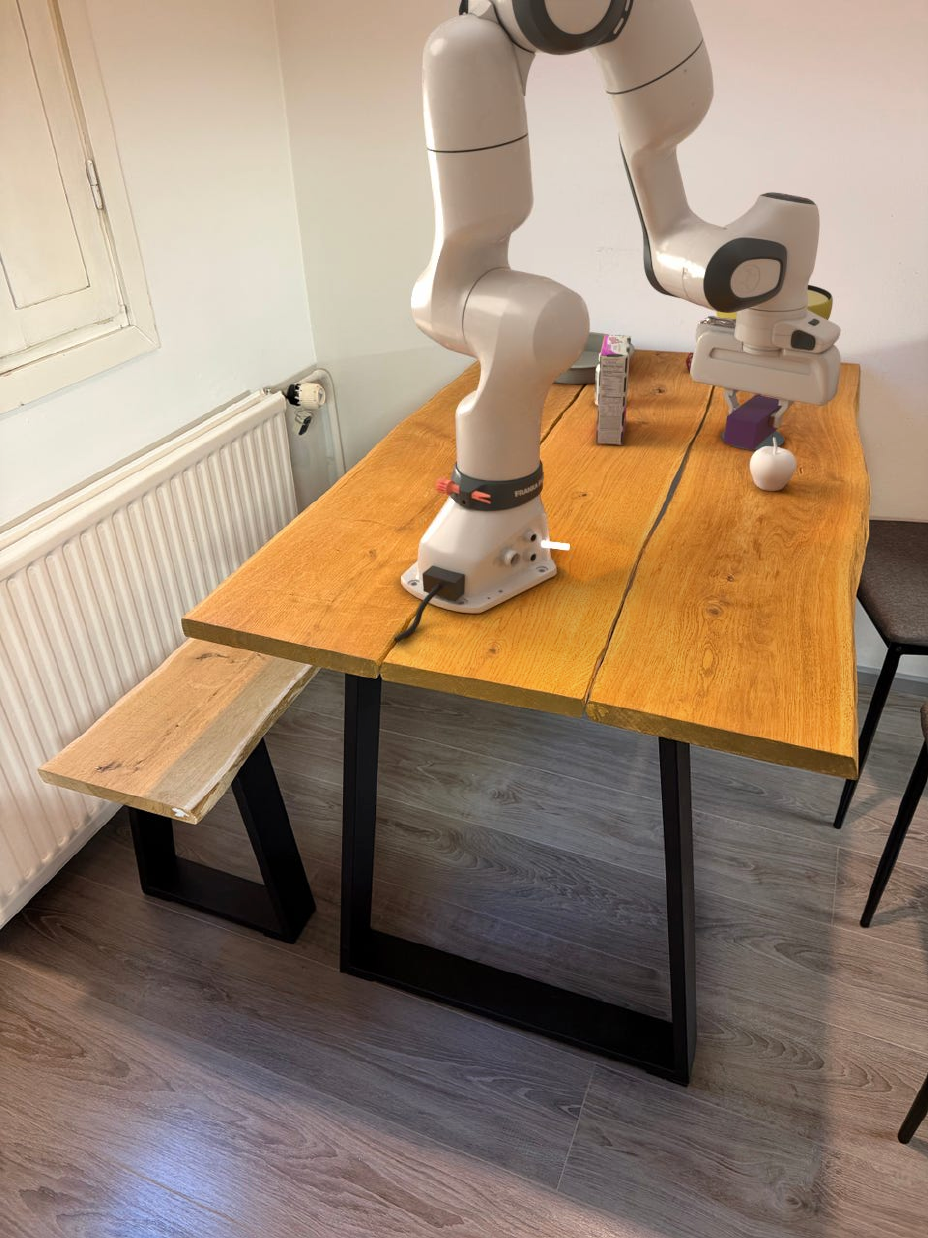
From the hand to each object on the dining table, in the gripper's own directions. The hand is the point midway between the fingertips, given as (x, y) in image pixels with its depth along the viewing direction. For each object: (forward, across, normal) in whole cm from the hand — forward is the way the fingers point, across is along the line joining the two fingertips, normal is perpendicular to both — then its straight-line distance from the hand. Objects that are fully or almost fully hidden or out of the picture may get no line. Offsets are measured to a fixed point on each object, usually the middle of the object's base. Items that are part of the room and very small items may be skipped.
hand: (754, 422), depth 127 cm
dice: (+15, -35, +56) cm, 67 cm away
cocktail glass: (+15, -10, +28) cm, 33 cm away
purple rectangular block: (+2, 0, 0) cm, 2 cm away
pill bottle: (+15, -40, +29) cm, 51 cm away
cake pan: (+15, -57, +44) cm, 73 cm away
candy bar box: (+15, -32, +16) cm, 38 cm away
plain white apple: (+15, 0, +11) cm, 18 cm away
